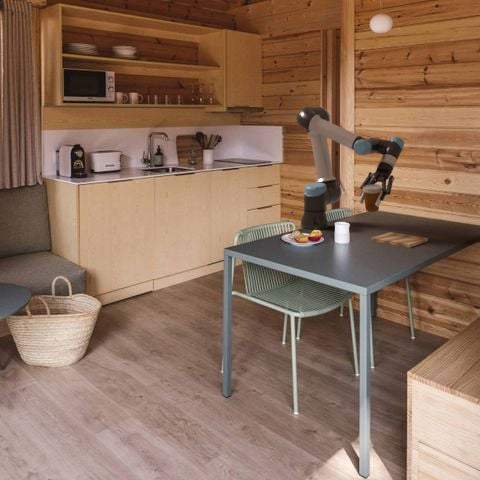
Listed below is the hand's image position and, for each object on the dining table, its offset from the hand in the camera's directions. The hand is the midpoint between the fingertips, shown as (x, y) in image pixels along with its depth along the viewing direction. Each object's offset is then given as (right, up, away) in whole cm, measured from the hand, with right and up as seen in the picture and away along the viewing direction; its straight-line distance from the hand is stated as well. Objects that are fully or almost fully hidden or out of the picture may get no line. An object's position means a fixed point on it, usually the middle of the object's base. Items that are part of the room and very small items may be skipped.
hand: (368, 204), depth 274 cm
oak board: (+13, -18, -7) cm, 24 cm away
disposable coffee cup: (+3, -3, +4) cm, 5 cm away
